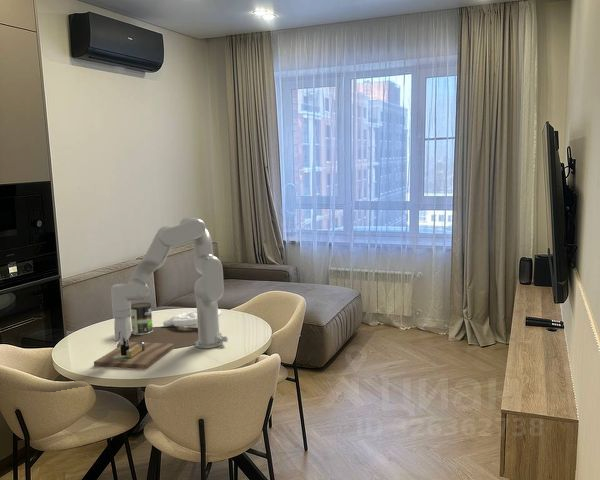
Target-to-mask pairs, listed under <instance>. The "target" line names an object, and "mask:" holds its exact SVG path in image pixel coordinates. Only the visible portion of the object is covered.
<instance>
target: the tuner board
mask: <svg viewBox="0 0 600 480" xmlns="http://www.w3.org/2000/svg"><path fill="white" fill-rule="evenodd" d="M138 342H139V341H137V342H136V341H129V349H130V348H132V347H133V346H135V345H137V343H138ZM144 343H145V350H143V351H140V352H139V353H137V354H136V355H134V356H133V357H131V358H128V357H127V355H126V356H121V347H120V345H119V346H118V347H115V348H114V349H113V350H111V351H109V352H108V353H106V354H105V355H103V356H101V357H100V358H98V359H97V360H95V361H93V366H94V367H95V368H96V367H97V368H98V367H99V368H116V369H117V368H118V369H135V370H147V369H149V368H150V367H152V366H153V365H154V364H156V363H157V362H159V360H161V359H162V358H164V357H165V356H166V355H167V354H169V353H170V352H171V351H173V350H174V349H175V348H176V345H175V343H165V342H162V343H161V342H144Z"/></svg>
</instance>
